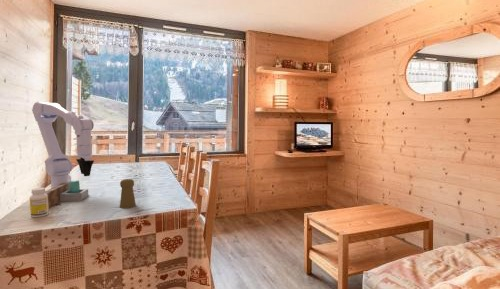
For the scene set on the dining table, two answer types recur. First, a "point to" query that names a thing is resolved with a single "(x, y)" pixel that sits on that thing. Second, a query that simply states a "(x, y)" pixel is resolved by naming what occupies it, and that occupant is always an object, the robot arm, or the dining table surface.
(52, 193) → the rail
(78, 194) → the socket block
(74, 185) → the dowel
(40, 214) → the supplement bottle
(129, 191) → the cork
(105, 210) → the dining table surface
